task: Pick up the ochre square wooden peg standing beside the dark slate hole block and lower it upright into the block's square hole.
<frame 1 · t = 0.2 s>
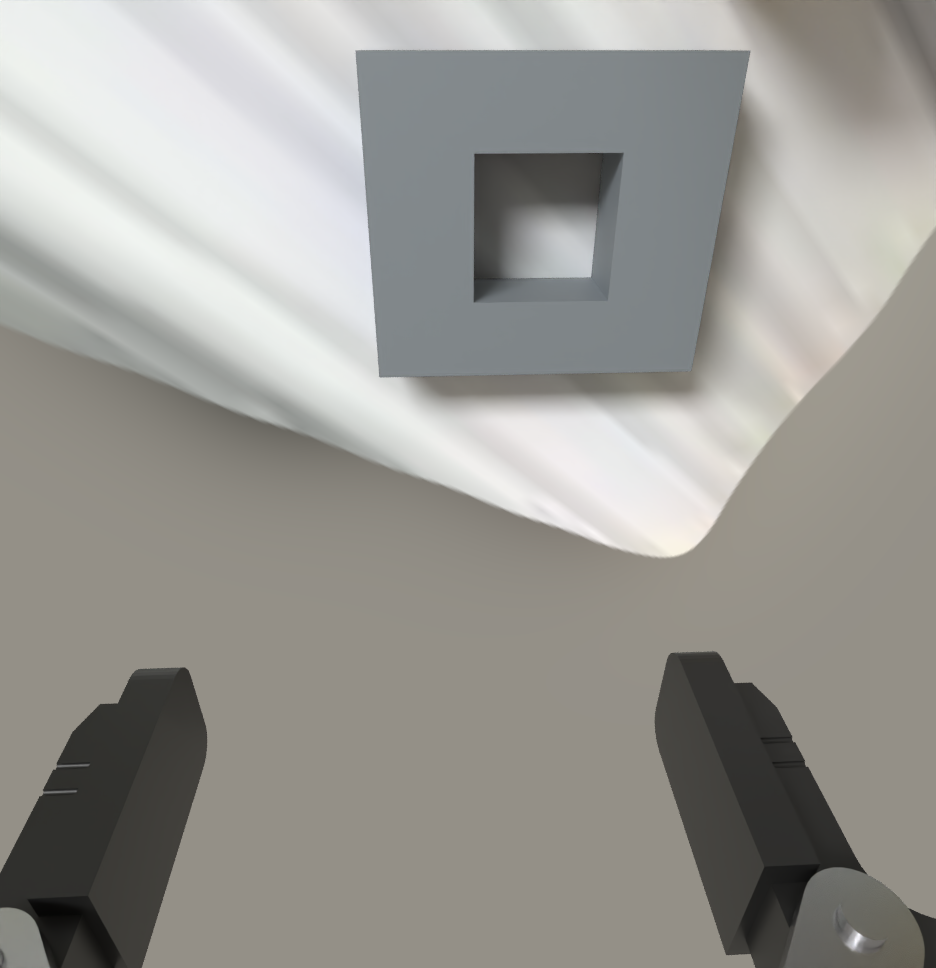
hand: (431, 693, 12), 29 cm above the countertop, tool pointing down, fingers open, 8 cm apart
hole block: (533, 213, 35), on the countertop
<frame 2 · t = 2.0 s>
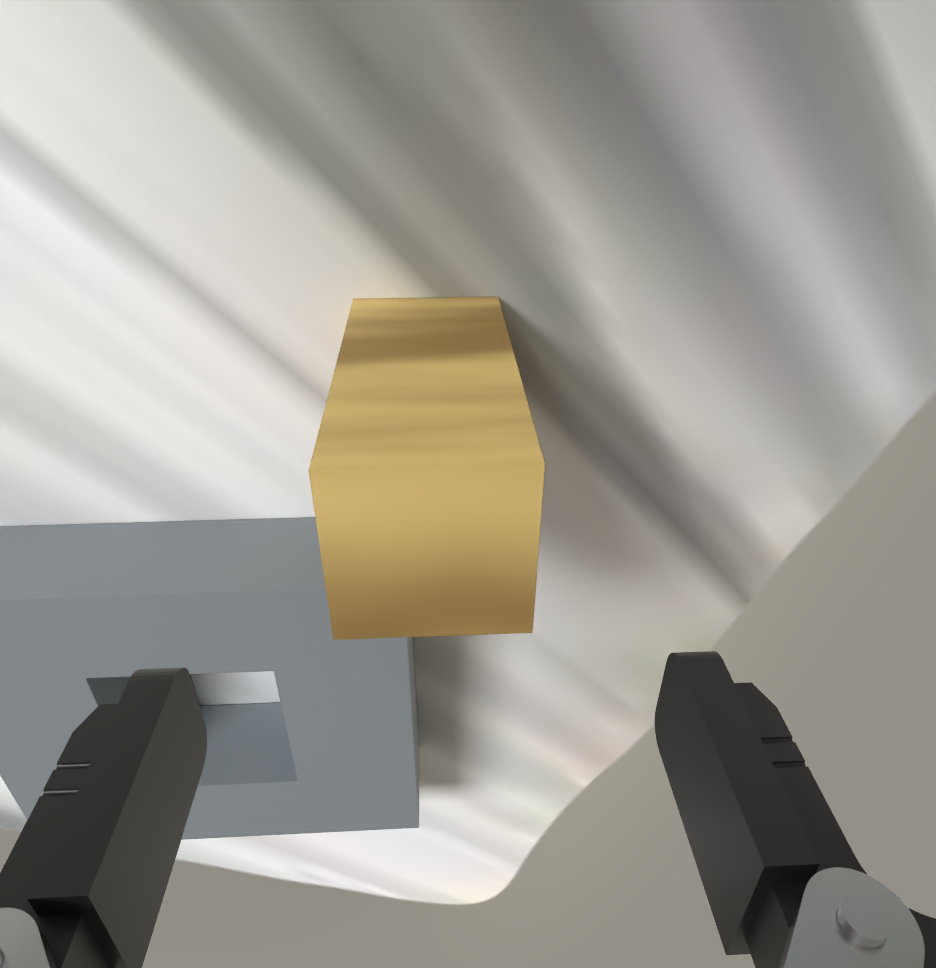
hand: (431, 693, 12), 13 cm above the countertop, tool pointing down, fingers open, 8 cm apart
peg: (428, 365, 23), on the countertop
hole block: (225, 653, 29), on the countertop
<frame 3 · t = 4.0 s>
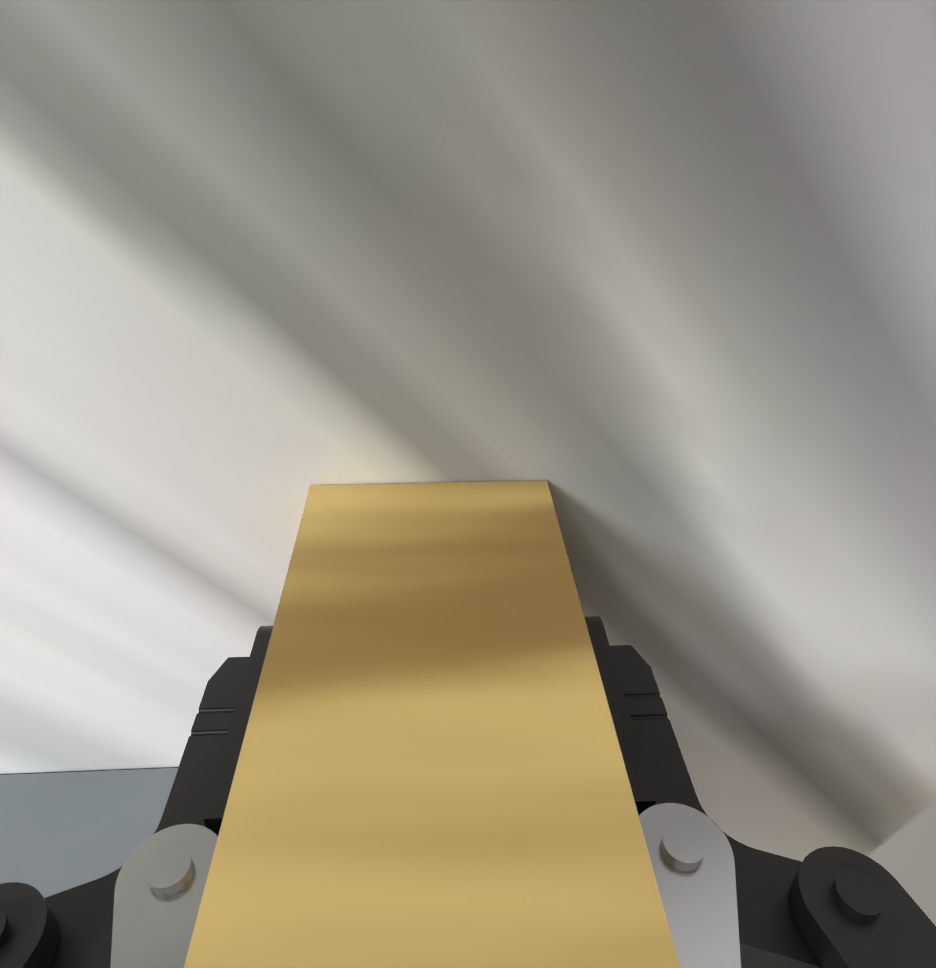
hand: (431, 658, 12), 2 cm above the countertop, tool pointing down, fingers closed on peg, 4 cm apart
peg: (432, 573, 14), on the countertop, touching gripper
hole block: (144, 915, 21), on the countertop
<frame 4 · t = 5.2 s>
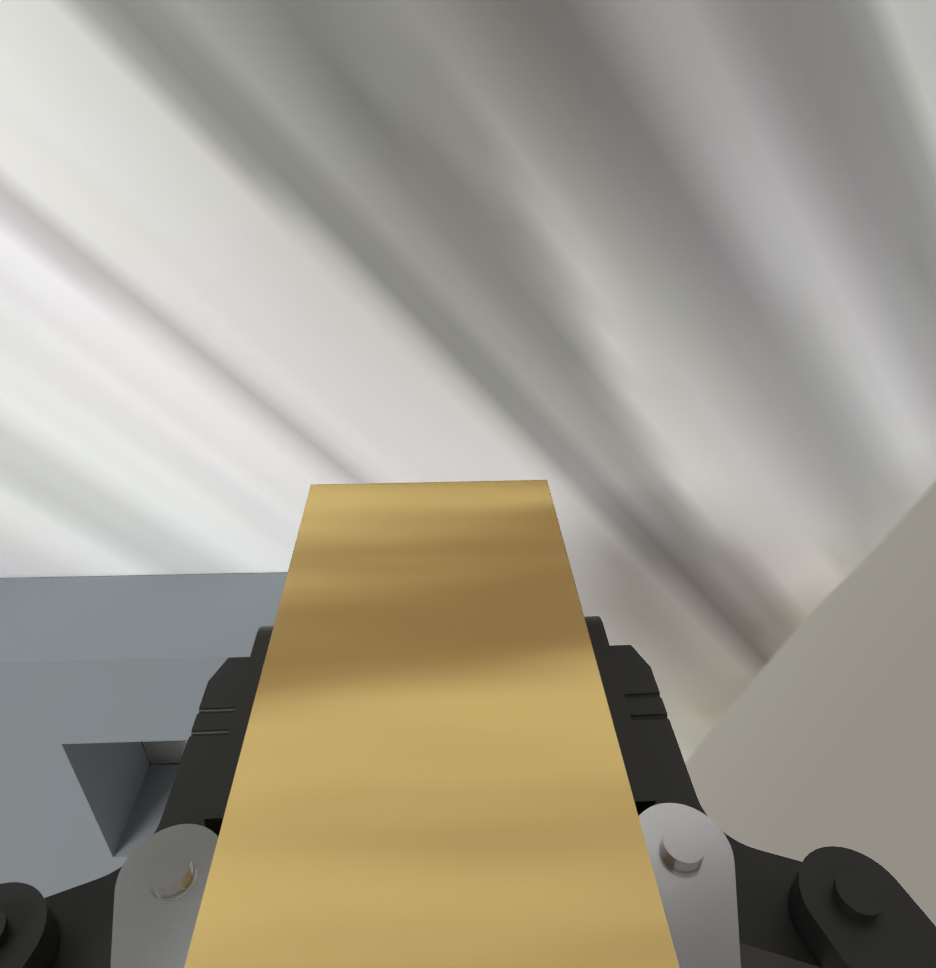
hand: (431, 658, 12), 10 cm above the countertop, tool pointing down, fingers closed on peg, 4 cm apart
peg: (432, 573, 14), point 8 cm above the countertop, touching gripper
hole block: (213, 710, 28), on the countertop
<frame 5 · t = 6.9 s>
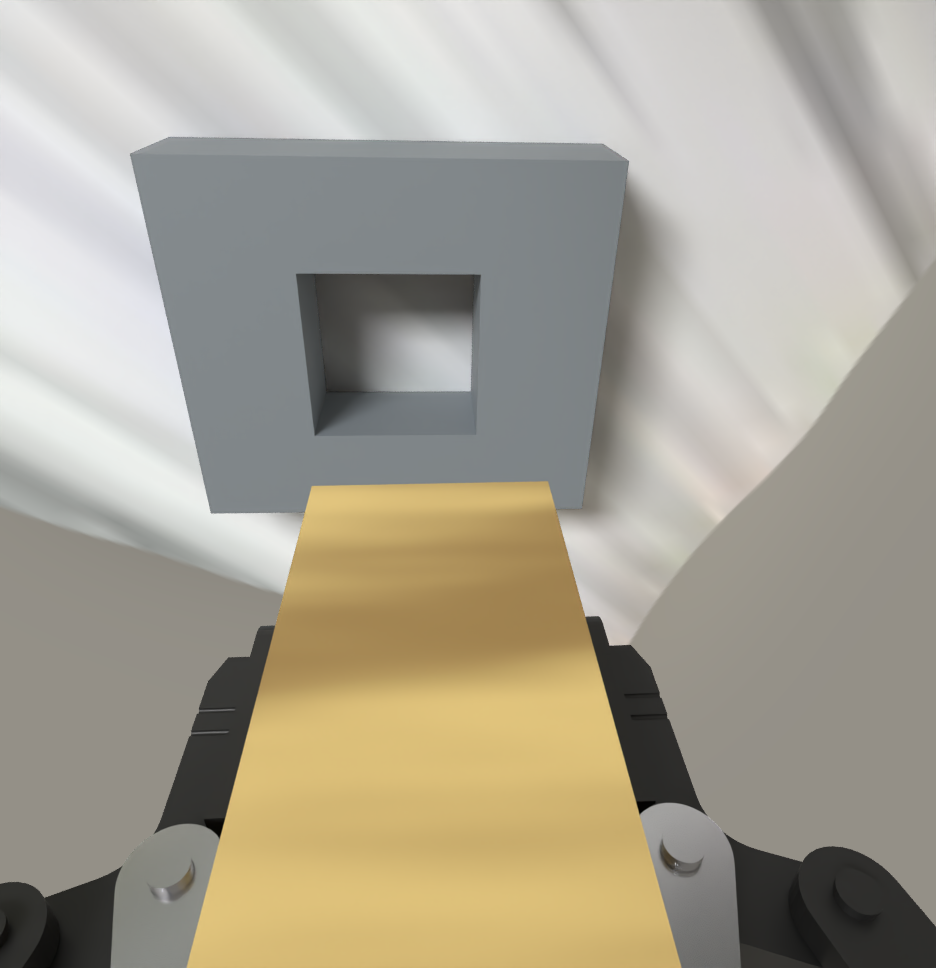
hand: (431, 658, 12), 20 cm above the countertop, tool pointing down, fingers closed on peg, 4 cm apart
peg: (433, 574, 14), point 18 cm above the countertop, touching gripper
hole block: (396, 322, 30), on the countertop
when the fingers open (5 cm above the countertop, at t = 10.1 s): peg drops 2 cm, resting in hole block.
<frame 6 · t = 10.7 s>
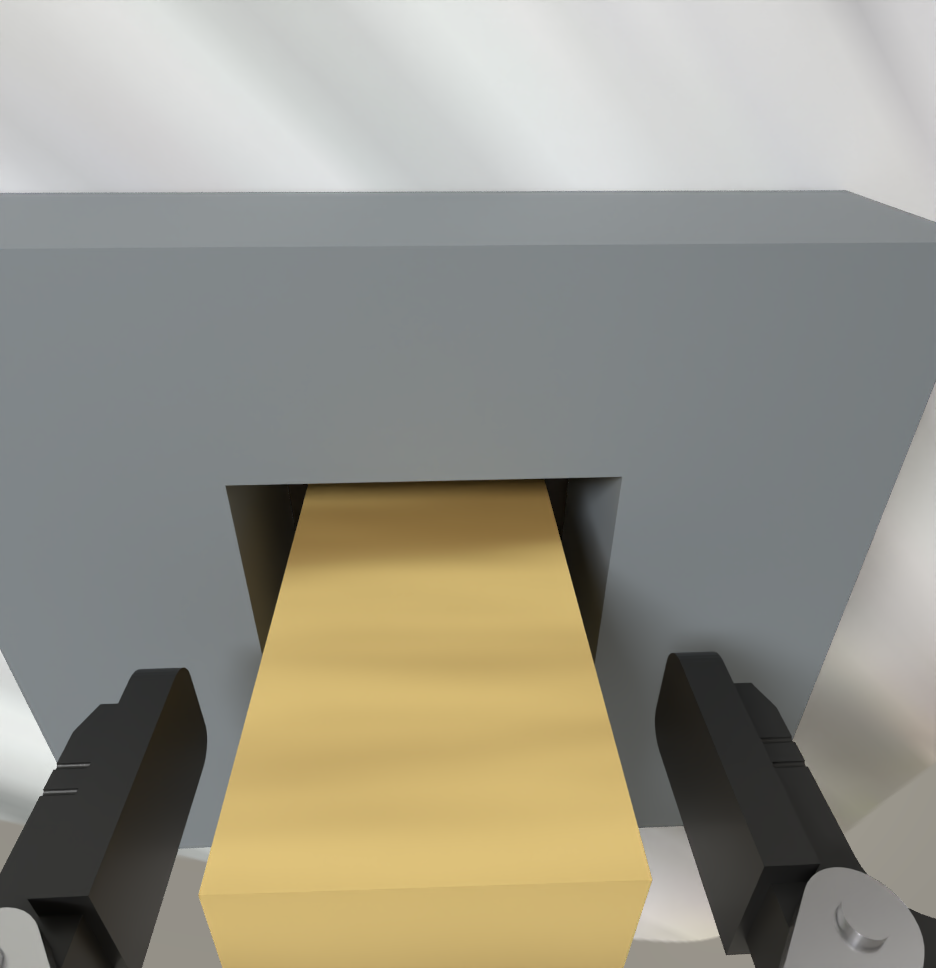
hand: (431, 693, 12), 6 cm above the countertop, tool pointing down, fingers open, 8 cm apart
peg: (427, 506, 17), resting in hole block
hole block: (430, 506, 16), on the countertop
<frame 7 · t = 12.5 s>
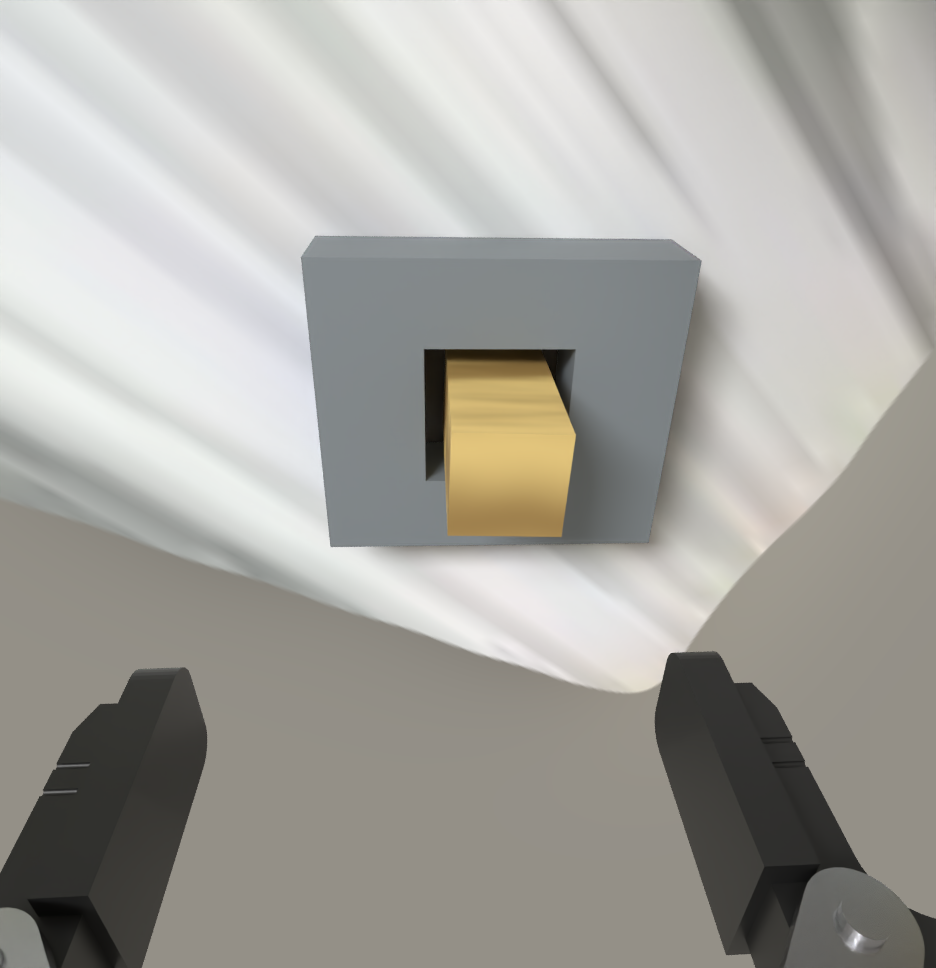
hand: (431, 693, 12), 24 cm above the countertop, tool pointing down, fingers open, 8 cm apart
peg: (489, 383, 35), resting in hole block
hole block: (490, 383, 35), on the countertop
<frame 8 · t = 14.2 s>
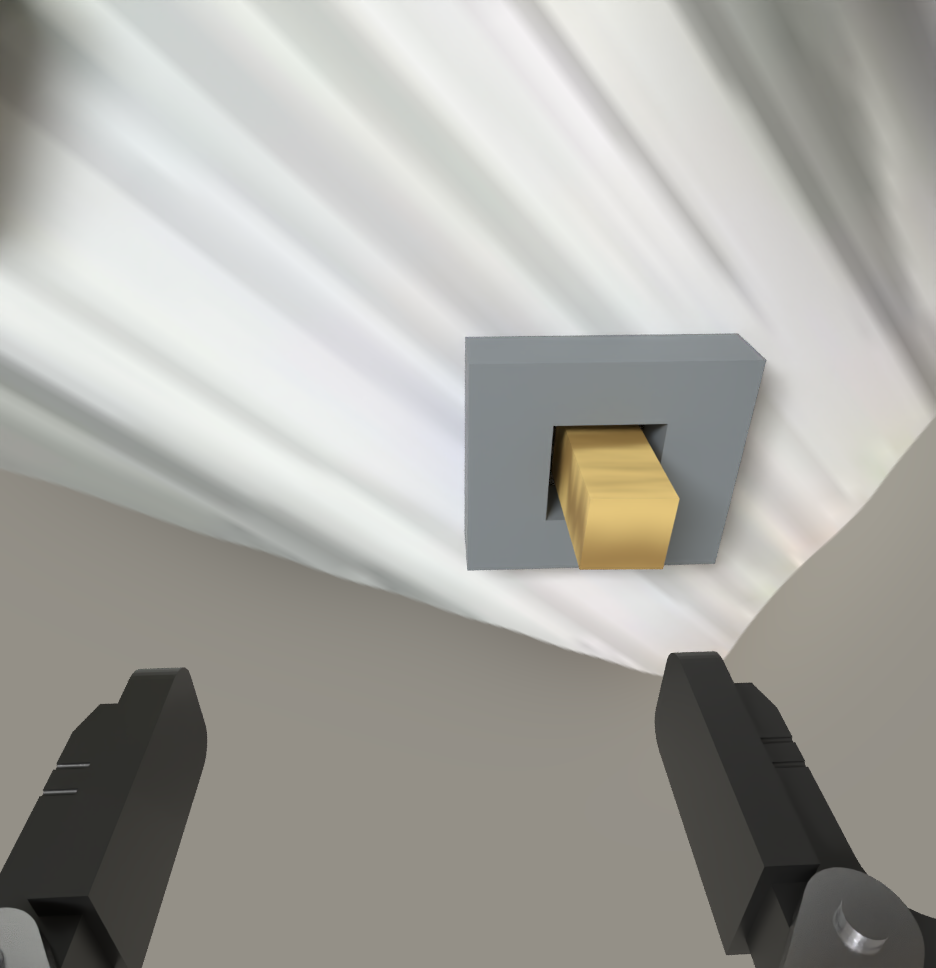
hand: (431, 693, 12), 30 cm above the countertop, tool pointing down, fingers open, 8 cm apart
peg: (589, 440, 44), resting in hole block
hole block: (590, 441, 44), on the countertop
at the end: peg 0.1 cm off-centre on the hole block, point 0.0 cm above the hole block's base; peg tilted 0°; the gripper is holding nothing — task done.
